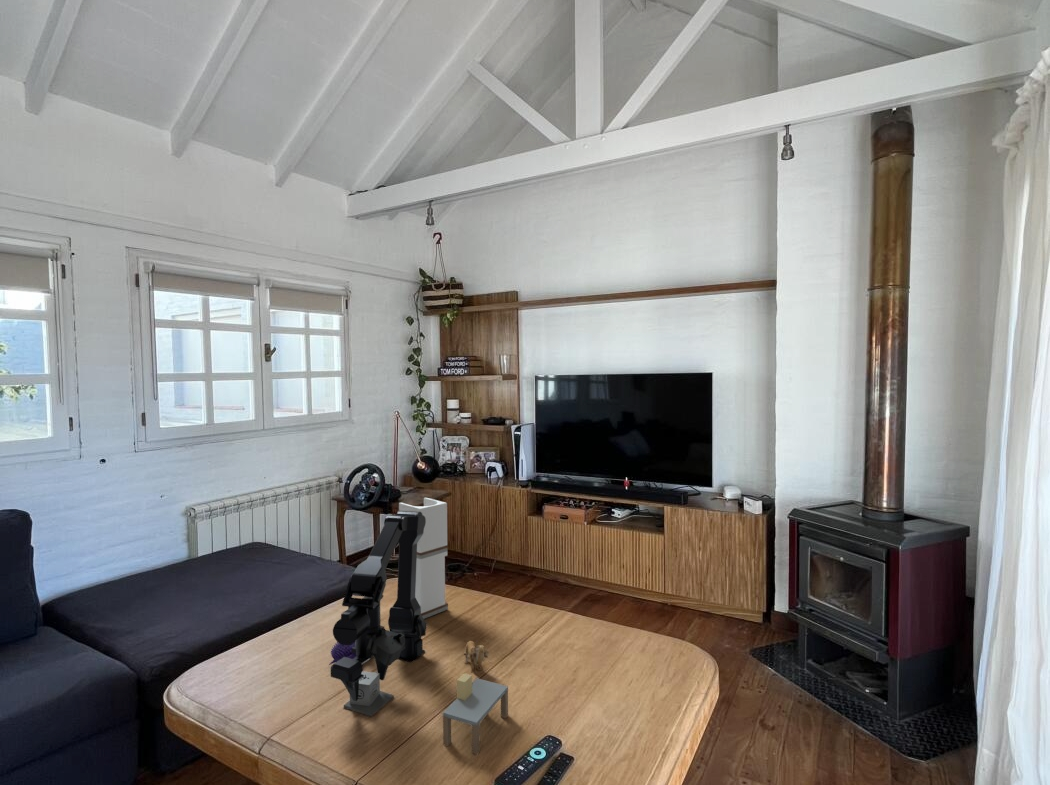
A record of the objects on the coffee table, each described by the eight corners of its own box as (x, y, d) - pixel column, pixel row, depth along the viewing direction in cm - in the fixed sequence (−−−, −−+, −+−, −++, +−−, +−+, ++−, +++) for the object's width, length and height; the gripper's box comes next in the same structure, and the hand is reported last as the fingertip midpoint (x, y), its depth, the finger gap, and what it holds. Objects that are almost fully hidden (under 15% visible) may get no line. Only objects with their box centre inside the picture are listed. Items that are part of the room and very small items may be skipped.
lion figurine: (491, 674, 141) (491, 646, 141) (476, 679, 139) (475, 650, 139) (470, 654, 151) (470, 627, 151) (456, 658, 149) (456, 631, 149)
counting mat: (343, 707, 127) (343, 705, 127) (367, 689, 135) (367, 687, 135) (371, 716, 124) (371, 713, 124) (393, 697, 131) (393, 694, 131)
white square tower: (448, 609, 180) (446, 502, 179) (421, 619, 172) (419, 508, 171) (427, 599, 188) (425, 497, 187) (400, 609, 180) (398, 503, 179)
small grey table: (443, 744, 114) (442, 693, 114) (476, 707, 127) (476, 661, 127) (476, 755, 111) (476, 703, 111) (508, 716, 124) (507, 668, 123)
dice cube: (360, 691, 133) (360, 671, 133) (379, 693, 132) (379, 673, 132) (349, 703, 128) (349, 682, 128) (369, 706, 127) (369, 684, 127)
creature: (392, 647, 155) (392, 605, 155) (338, 676, 141) (337, 629, 140) (372, 639, 160) (371, 597, 160) (317, 666, 146) (316, 621, 145)
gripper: (368, 650, 117) (369, 721, 117) (420, 614, 134) (421, 677, 134) (328, 639, 121) (329, 708, 122) (383, 606, 138) (384, 667, 139)
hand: (369, 689), depth 129 cm, fingers open, 9 cm apart
